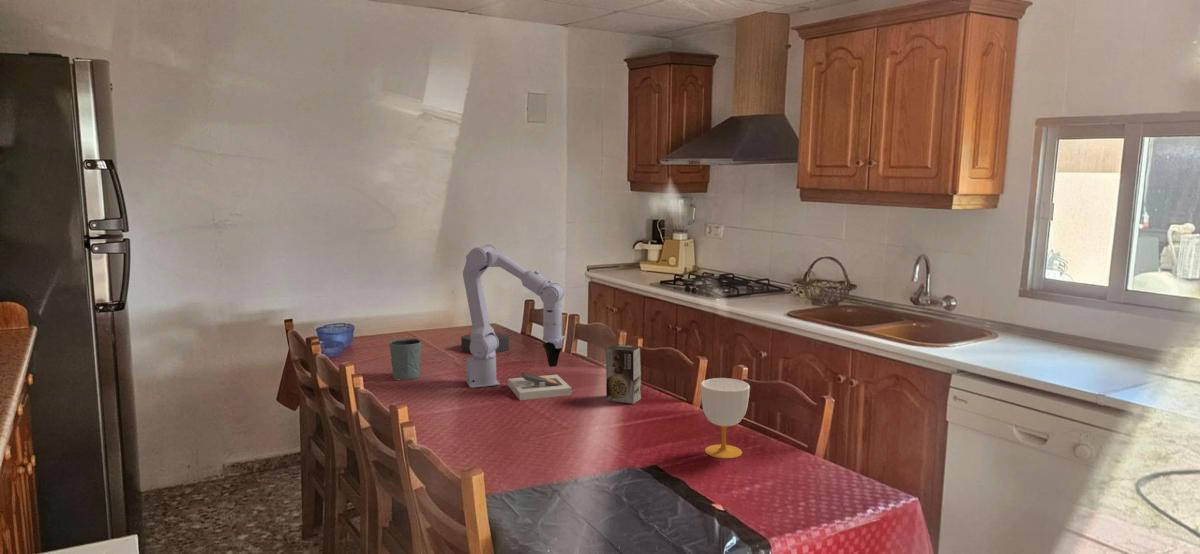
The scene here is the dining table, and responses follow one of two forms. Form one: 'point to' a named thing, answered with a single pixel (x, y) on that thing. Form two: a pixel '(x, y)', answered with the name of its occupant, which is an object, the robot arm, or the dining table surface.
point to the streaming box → (502, 347)
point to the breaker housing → (539, 388)
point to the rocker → (539, 379)
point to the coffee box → (623, 373)
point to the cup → (724, 410)
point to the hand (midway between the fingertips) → (552, 366)
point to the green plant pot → (405, 358)
